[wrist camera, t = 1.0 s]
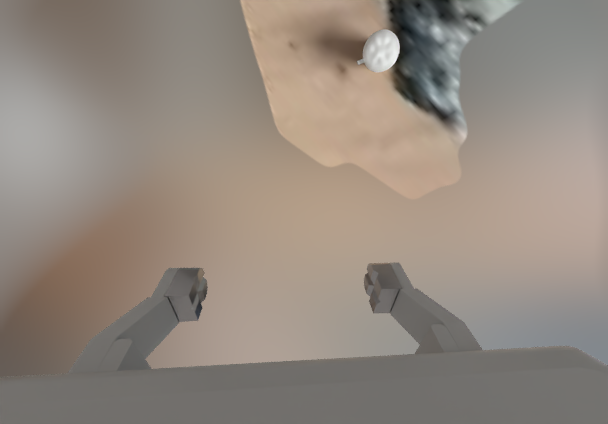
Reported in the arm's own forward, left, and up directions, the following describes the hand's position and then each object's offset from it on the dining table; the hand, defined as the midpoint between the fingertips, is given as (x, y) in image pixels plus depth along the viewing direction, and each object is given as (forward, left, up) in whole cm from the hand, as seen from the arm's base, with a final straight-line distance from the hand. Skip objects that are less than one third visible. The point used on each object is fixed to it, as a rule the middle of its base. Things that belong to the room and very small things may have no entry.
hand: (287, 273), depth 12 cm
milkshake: (-12, +2, -38) cm, 40 cm away
